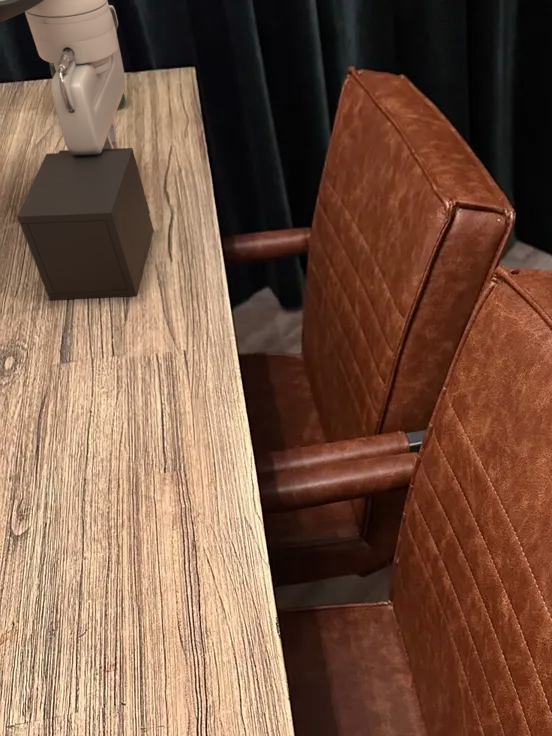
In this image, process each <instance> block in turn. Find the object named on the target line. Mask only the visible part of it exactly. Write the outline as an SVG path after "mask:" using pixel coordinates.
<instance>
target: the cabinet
mask: <svg viewBox="0 0 552 736" xmlns="http://www.w3.org/2000/svg"><path fill="white" fill-rule="evenodd" d="M135 160H136V159H135ZM135 160H134V157H133V153H132V151H106V152H101V153H100V154H98V155H73V154H71V153H59V152H56V153H55V152H53V153H46V154H45V156H44V158H43V160H42V161H41V164H40V166H39V169H38V171H37V173H36V175H35V177H34V179H33V181H32V183H31V186H30V188H29V190H28V192H27V194H26V195H25V199H24V201H23V203H22V205H21V207H20V209H19V211H18V213H17V216H16V218H17V221H18V223H19V225H20V227H21V230H22V232H23V235H24V239H25V240H26V243H27V245H28V249H29V251H30V253H31V256H32V258H33V260H34V264H35V266H36V269H37V271H38V273H39V276H40V279H41V281H42V284H43V287H44V288H45V291H46V294H47V296H48V299H49V300H50V301H55V300H57V301H58V300H59V301H60V300H78V299H100V298H103V299H104V298H123V297H124V298H125V297H137V296H138V293H139V290H140V285H141V281H142V277H143V274H144V270H145V267H146V262H147V258H148V254H149V250H150V247H151V243H152V239H153V236H154V226H153V224H152V219H151V216H150V214H149V212H148V208H147V204H148V203H147V204H146V201H145V197H144V193H145V192H144V193H143V190H142V186H141V182H142V181H141V182H140V179H139V175H138V171H139V170H138V171H137V168H136V164H135Z"/></svg>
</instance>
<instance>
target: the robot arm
mask: <svg viewBox="0 0 552 736" xmlns="http://www.w3.org/2000/svg"><path fill="white" fill-rule="evenodd" d="M23 13H25V14H24V15H25V18H26V20H27V23H28V26H29V29H30V32H31V35H32V39H33V41H34V44H35V47H36V51H37V53H38V56H39V58H41V59H42V61H45V62H47V63H49V62H50V63H54V66H55V69H56V73H55V75H54V77H53V79H52V78H51V79H52V80H51V83H50V84H51V86H50V89H51V95H52V96H51V97H52V100H53V104H54V109H55V112H56V116H57V120H58V123H59V126H60V130H61V134H62V137H63V141H64V144H65V146H66V148H67V150H69V151H70V153H71V154H73V155H98V154H100V153H101V152H102V149H116V148H119V144H118V141H117V138H118V137H117V130H116V129H117V128H116V121H115V117H116V114H117V111H118V109H119V108H118V106H119V103H120V101H121V98H122V95H123V93H124V94H125V90H126V77H125V69H124V64H123V58H122V54H121V48H120V43H119V38H118V34H117V30H118V27H119V20H118V15H117V12H116V9H115V7H114V5H112V4H109V2H108V0H0V23H2V22H4V21H7V20H9V19H12V18H14V17H16V16H19V15H20V14H23Z"/></svg>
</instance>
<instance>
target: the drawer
mask: <svg viewBox="0 0 552 736" xmlns="http://www.w3.org/2000/svg"><path fill="white" fill-rule="evenodd" d="M106 151H132V153H133V157H134V160H135V164H136V168H137V171H138V175H139V179H140V182H141V186H142V190H143V193H144V197H145V201H146V204H147V208H148V212H149V215H150V213H151V210H150V208H149V204H148V200H147V197H146V196H147V195H146V192H145V189H144V186H143V182H142V177H141V174H140V171H139V167H138V164H137V160H136V157H135V153H134V149H133V148H132V147H123V148H122V147H121V148H120V147H118V148H116V149H102V152H106ZM58 153H70V151H69V150H68V149H65V150H58Z"/></svg>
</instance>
